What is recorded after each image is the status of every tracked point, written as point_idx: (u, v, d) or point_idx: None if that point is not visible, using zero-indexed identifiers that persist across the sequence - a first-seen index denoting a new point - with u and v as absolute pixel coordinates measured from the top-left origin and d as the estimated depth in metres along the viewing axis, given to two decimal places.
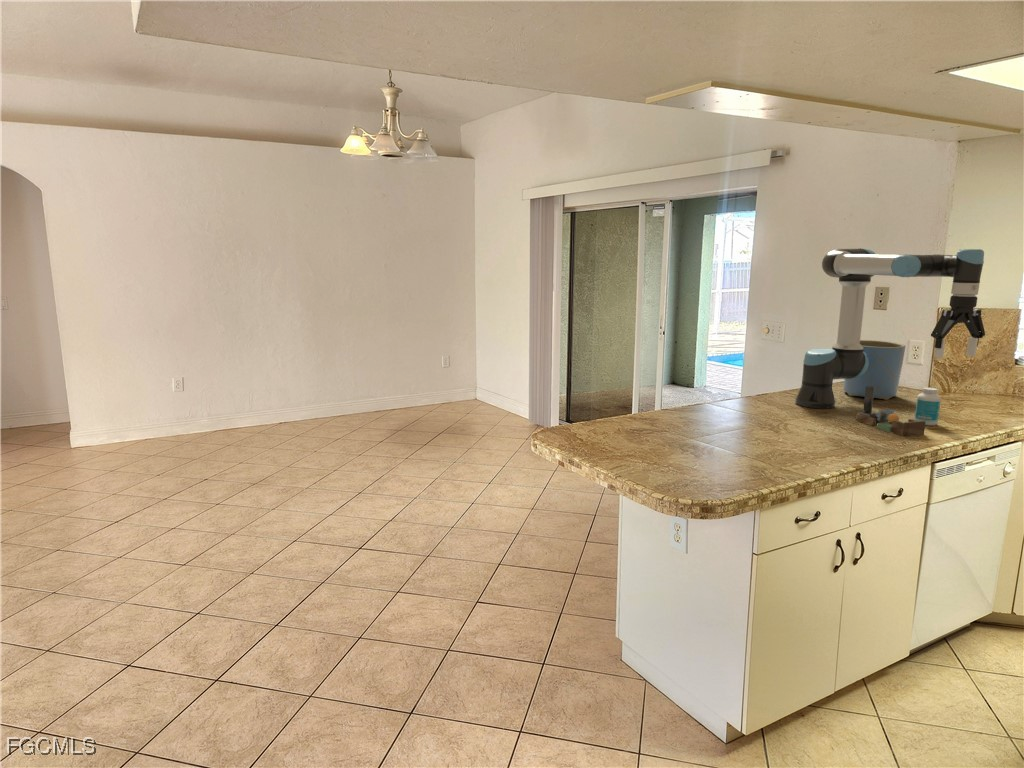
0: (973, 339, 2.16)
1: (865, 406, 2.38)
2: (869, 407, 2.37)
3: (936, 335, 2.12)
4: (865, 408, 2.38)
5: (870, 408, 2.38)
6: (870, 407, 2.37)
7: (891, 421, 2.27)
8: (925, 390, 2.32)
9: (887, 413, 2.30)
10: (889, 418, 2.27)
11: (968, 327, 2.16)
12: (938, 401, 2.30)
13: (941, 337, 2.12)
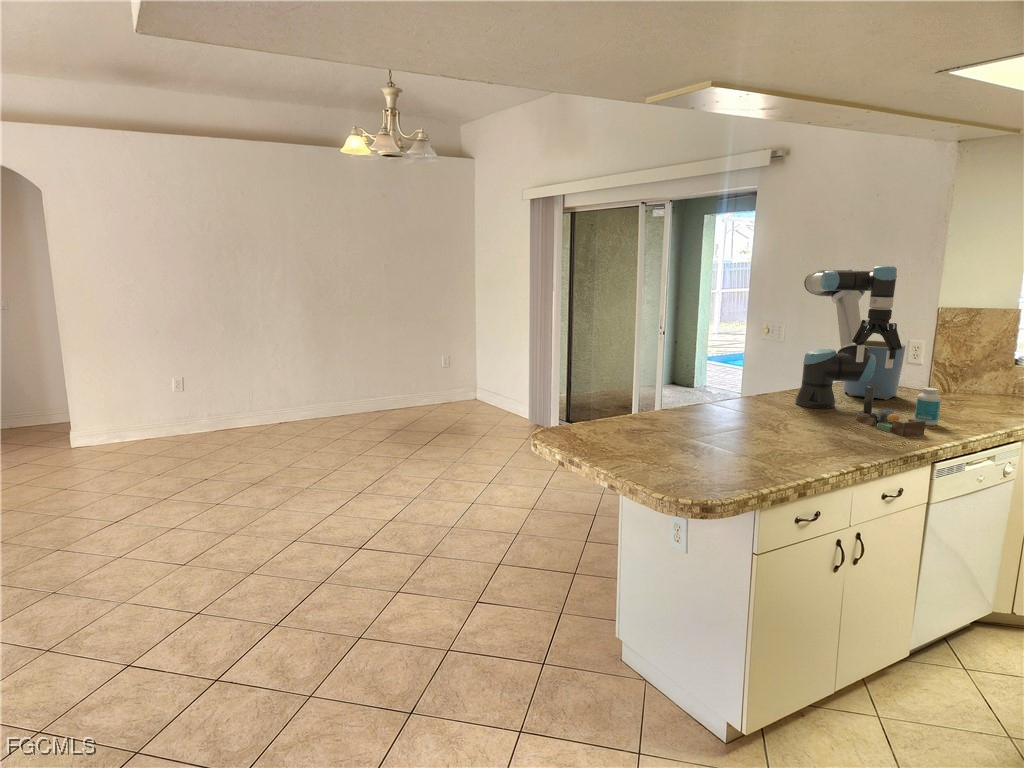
0: None
1: (865, 406, 2.38)
2: (869, 407, 2.37)
3: None
4: (865, 408, 2.38)
5: (870, 408, 2.38)
6: (870, 407, 2.37)
7: (891, 421, 2.27)
8: (925, 390, 2.32)
9: (887, 413, 2.30)
10: (889, 418, 2.27)
11: None
12: (938, 401, 2.30)
13: (856, 343, 2.41)
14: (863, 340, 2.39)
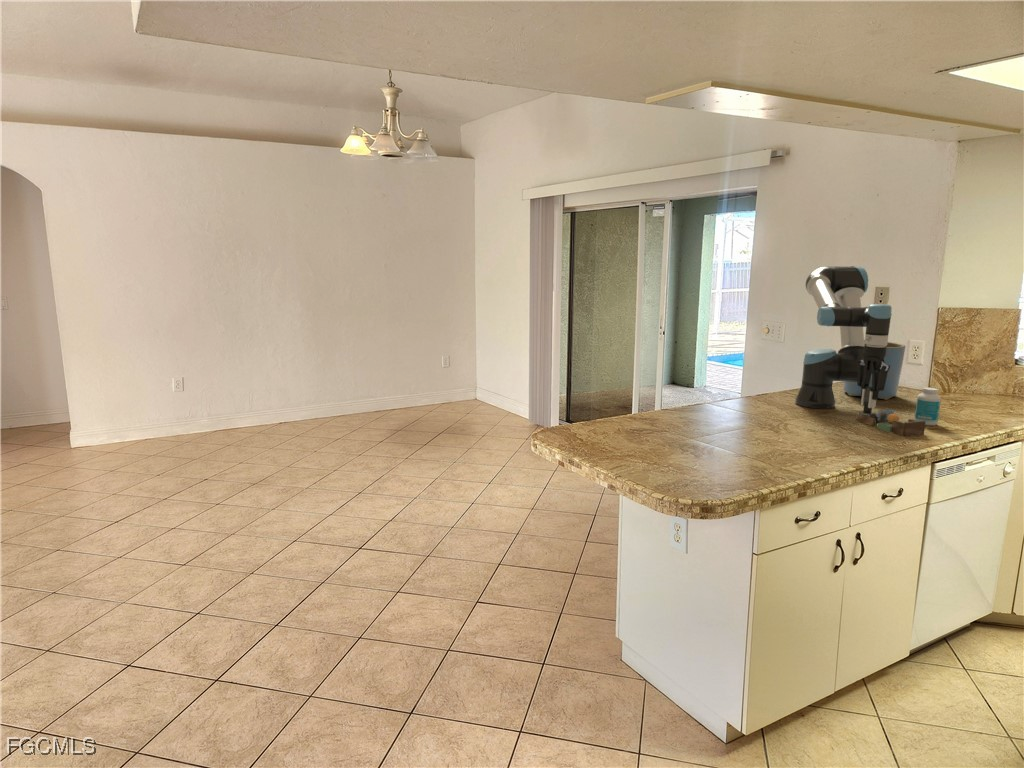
0: None
1: (865, 406, 2.38)
2: None
3: None
4: (865, 408, 2.38)
5: (870, 408, 2.38)
6: None
7: (891, 421, 2.27)
8: (925, 390, 2.32)
9: (887, 413, 2.30)
10: (889, 418, 2.27)
11: None
12: (938, 401, 2.30)
13: (861, 387, 2.40)
14: (866, 381, 2.38)
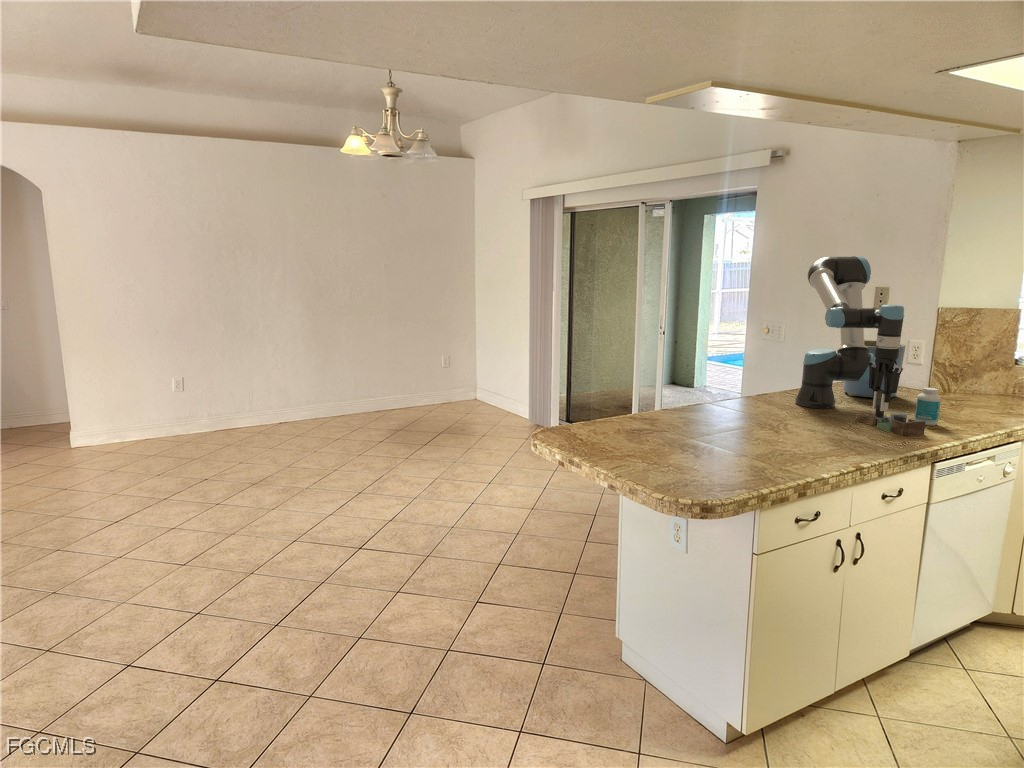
0: None
1: (877, 410, 2.33)
2: None
3: None
4: (877, 412, 2.33)
5: (882, 412, 2.32)
6: (882, 411, 2.32)
7: None
8: (925, 390, 2.32)
9: (900, 417, 2.25)
10: None
11: None
12: (938, 401, 2.30)
13: (873, 389, 2.34)
14: (878, 384, 2.33)
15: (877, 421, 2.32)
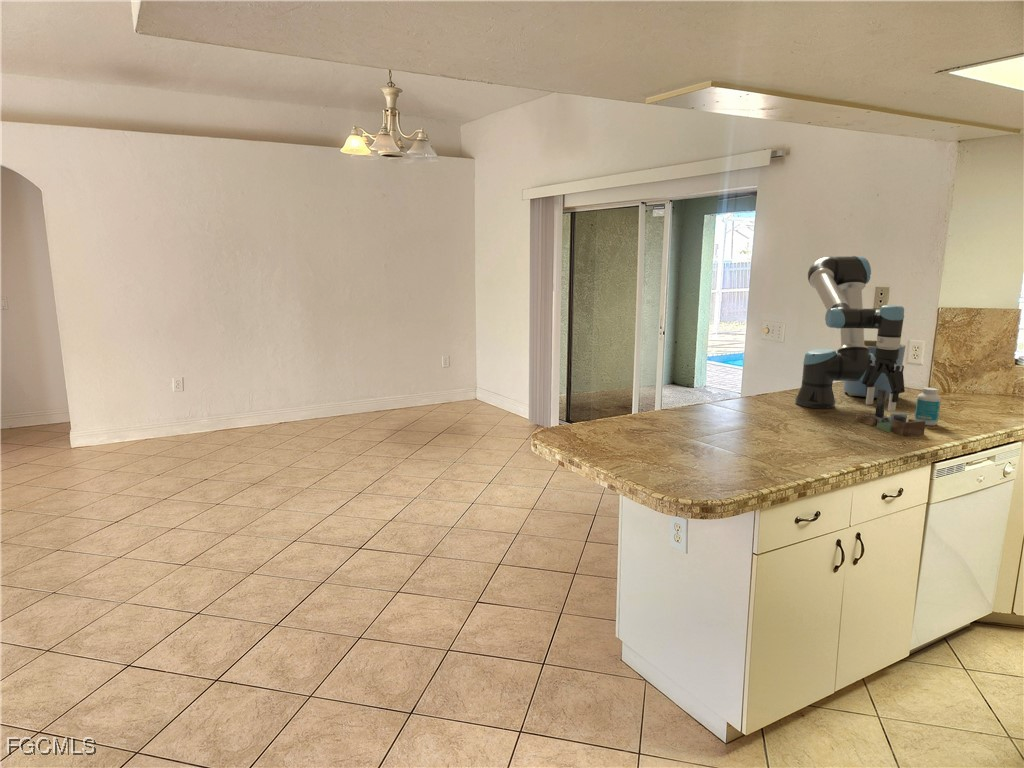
0: None
1: (877, 410, 2.33)
2: (881, 410, 2.32)
3: None
4: (877, 412, 2.33)
5: (882, 412, 2.32)
6: (882, 411, 2.32)
7: None
8: (925, 390, 2.32)
9: (900, 417, 2.25)
10: None
11: None
12: (938, 401, 2.30)
13: (866, 385, 2.38)
14: (872, 381, 2.36)
15: (877, 421, 2.32)
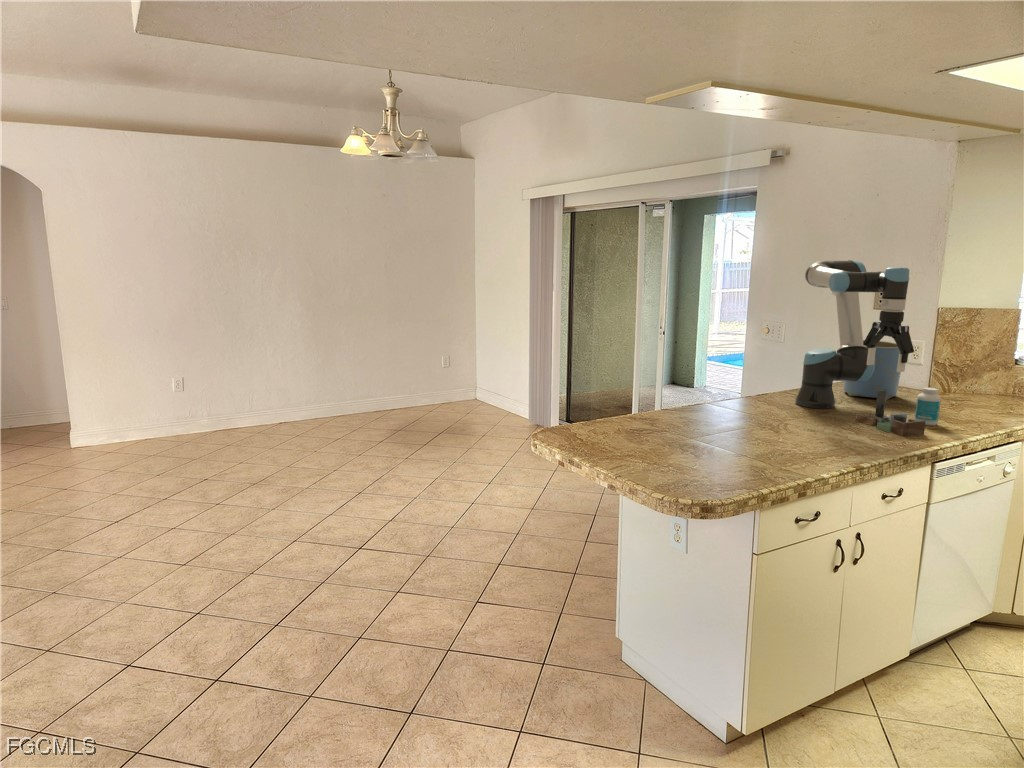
0: None
1: (877, 410, 2.33)
2: (881, 410, 2.32)
3: None
4: (877, 412, 2.33)
5: (882, 412, 2.32)
6: (882, 411, 2.32)
7: None
8: (925, 390, 2.32)
9: (900, 417, 2.25)
10: None
11: None
12: (938, 401, 2.30)
13: (867, 345, 2.36)
14: (874, 343, 2.34)
15: (877, 421, 2.32)
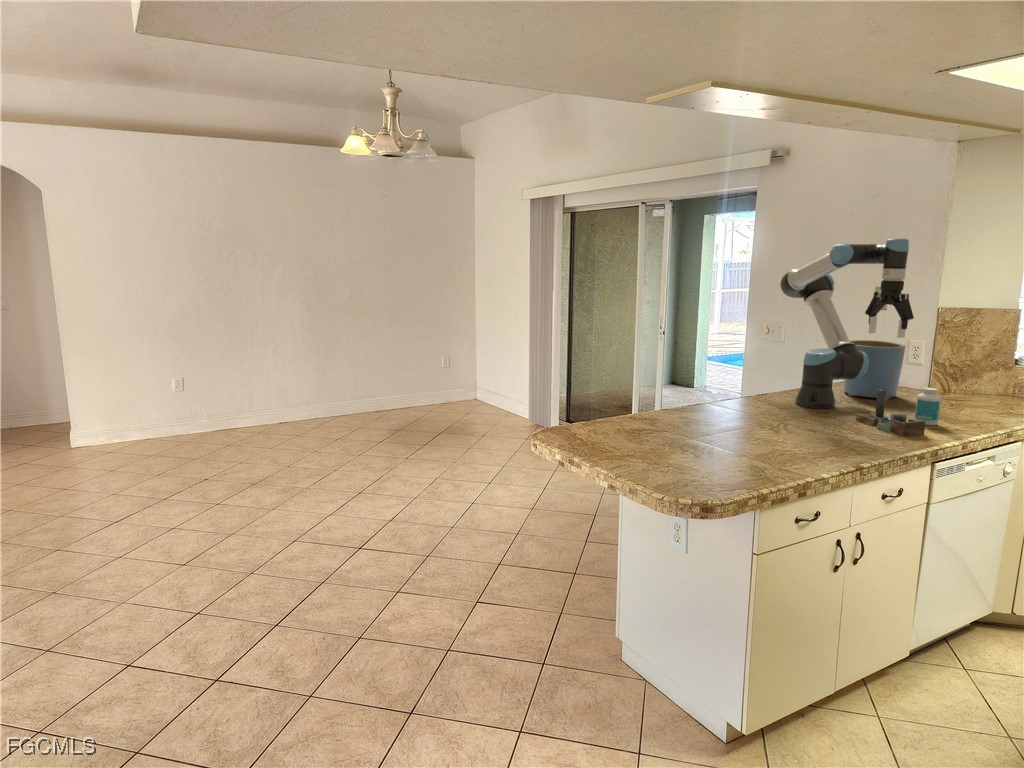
0: None
1: (877, 410, 2.33)
2: (881, 410, 2.32)
3: None
4: (877, 412, 2.33)
5: (882, 412, 2.32)
6: (882, 411, 2.32)
7: None
8: (925, 390, 2.32)
9: (900, 417, 2.25)
10: None
11: None
12: (938, 401, 2.30)
13: (869, 314, 2.48)
14: (876, 311, 2.46)
15: (877, 421, 2.32)
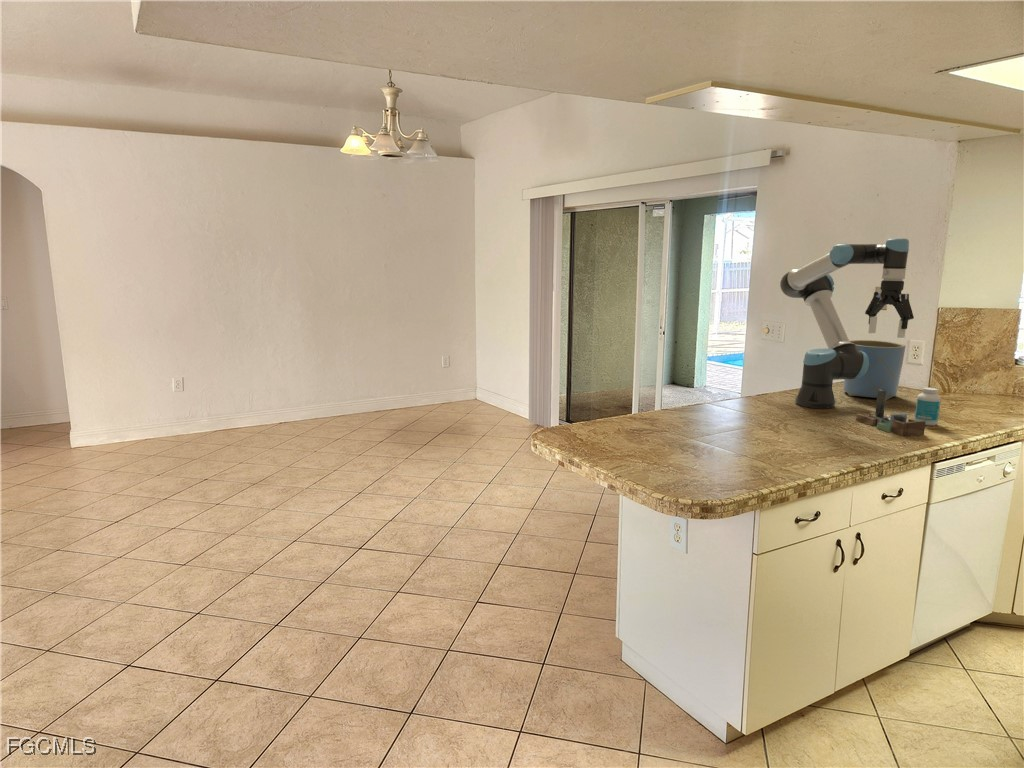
0: None
1: (877, 410, 2.33)
2: (881, 410, 2.32)
3: None
4: (877, 412, 2.33)
5: (882, 412, 2.32)
6: (882, 411, 2.32)
7: None
8: (925, 390, 2.32)
9: (900, 417, 2.25)
10: None
11: None
12: (938, 401, 2.30)
13: (869, 314, 2.48)
14: (876, 311, 2.46)
15: (877, 421, 2.32)
